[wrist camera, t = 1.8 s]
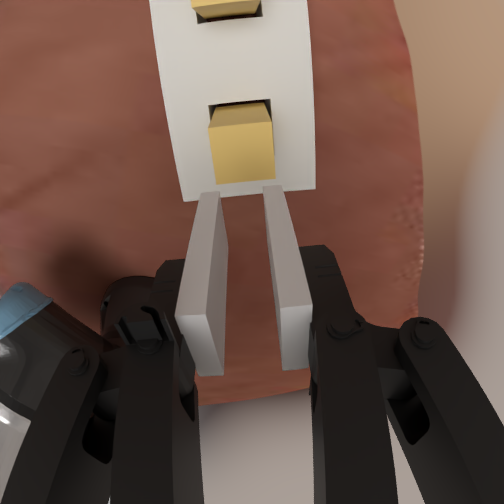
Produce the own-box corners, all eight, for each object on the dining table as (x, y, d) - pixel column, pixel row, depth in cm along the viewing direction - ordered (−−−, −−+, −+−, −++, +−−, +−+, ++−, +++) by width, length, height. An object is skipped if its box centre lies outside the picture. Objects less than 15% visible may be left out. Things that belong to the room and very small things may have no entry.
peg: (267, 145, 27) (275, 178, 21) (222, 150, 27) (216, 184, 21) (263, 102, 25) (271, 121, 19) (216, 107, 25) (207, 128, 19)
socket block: (300, 159, 35) (315, 189, 28) (194, 169, 35) (183, 201, 29) (284, -47, 21) (297, -71, 14) (165, -33, 21) (144, -54, 14)
